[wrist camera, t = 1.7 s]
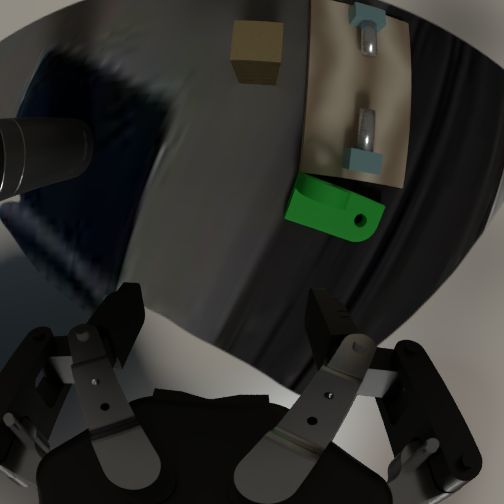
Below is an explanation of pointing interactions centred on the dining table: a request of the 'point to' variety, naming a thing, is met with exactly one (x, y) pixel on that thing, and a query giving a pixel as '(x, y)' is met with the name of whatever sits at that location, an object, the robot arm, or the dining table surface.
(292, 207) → the mechanical part
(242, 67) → the tan square-topped block
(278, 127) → the dining table surface
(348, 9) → the board
